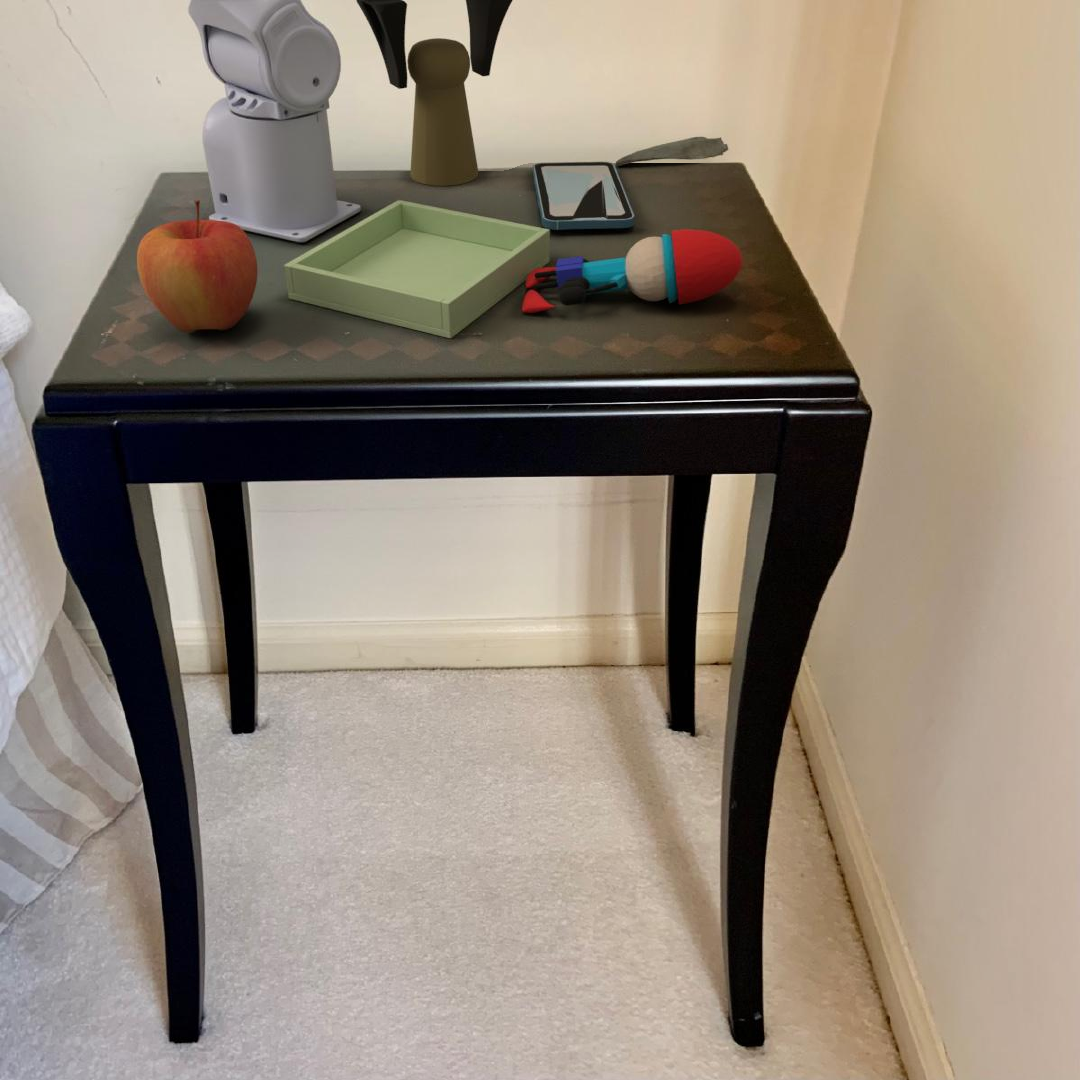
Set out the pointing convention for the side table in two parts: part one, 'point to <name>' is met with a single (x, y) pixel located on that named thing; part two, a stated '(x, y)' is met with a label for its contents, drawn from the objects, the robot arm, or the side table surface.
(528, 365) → the side table surface
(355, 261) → the spice tray
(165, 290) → the apple
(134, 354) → the side table surface
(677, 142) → the stone
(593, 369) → the side table surface
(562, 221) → the smartphone
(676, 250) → the toy figure
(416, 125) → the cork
